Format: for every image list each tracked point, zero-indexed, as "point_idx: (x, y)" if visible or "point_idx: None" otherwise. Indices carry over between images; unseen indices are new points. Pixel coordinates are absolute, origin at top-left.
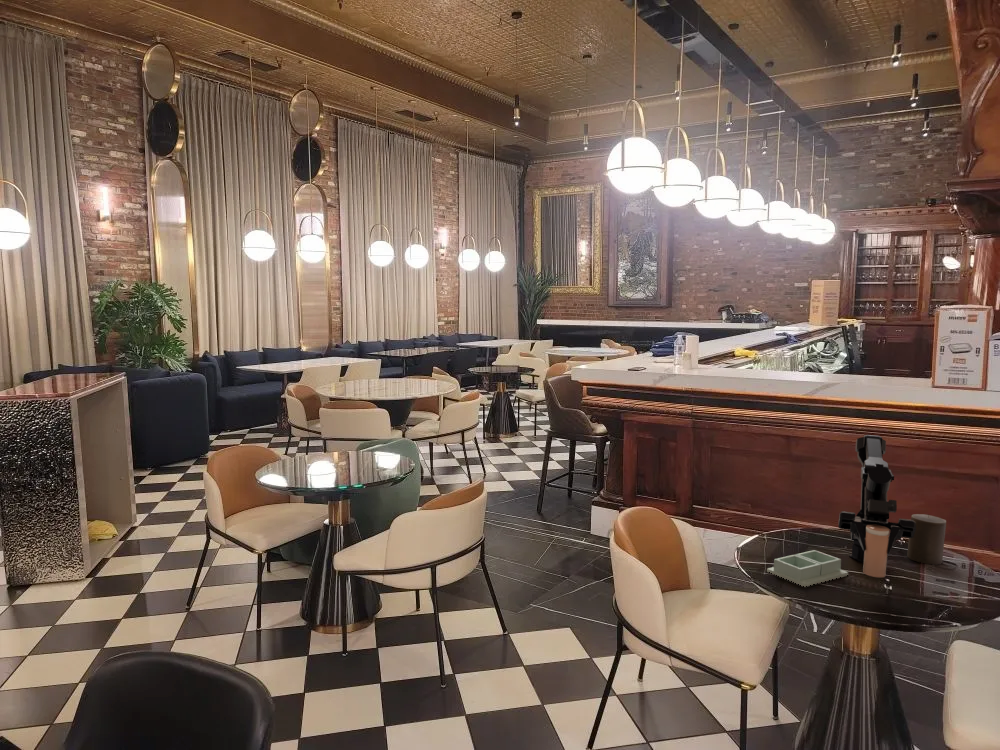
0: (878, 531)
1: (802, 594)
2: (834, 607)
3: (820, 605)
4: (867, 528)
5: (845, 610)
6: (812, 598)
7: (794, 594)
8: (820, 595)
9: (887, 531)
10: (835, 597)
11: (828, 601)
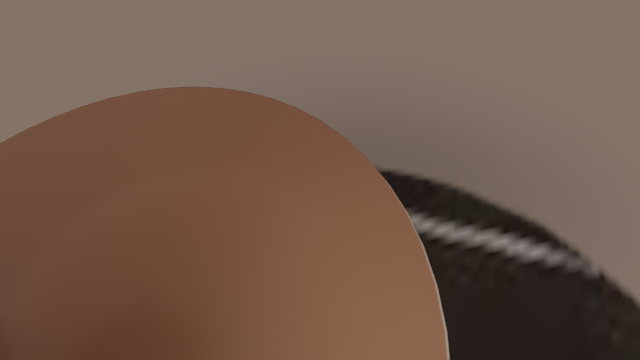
0: (244, 102)
1: (597, 323)
2: (471, 220)
3: (518, 226)
4: (426, 266)
5: (437, 205)
6: (551, 286)
7: (629, 315)
8: (522, 329)
9: (50, 134)
10: (461, 320)
11: (490, 270)
